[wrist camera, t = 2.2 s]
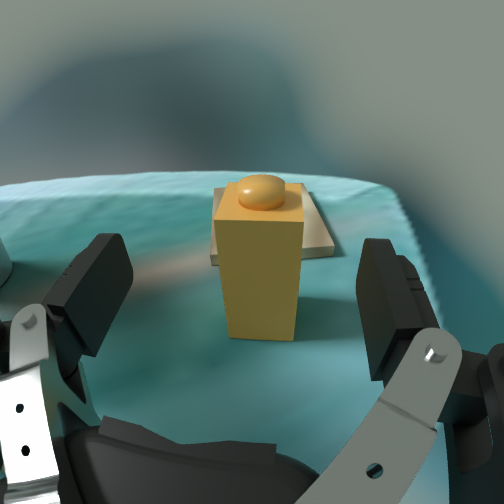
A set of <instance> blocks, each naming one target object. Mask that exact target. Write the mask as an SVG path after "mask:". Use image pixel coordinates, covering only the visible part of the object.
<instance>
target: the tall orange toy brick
mask: <svg viewBox="0 0 504 504" xmlns="http://www.w3.org/2000/svg"><path fill="white" fill-rule="evenodd" d="M214 229H215V237H216V245H217V253H218V260H219V268H220V276H221V283H222V290H223V298H224V305H225V312H226V319H227V325H228V332H229V338H239V339H255V340H275V341H293V339H294V330H295V321H296V312H297V302H298V291H299V280H300V269H301V257H302V244H303V231H304V215H303V203H302V192H301V184H293V183H285V182H284V181H283V180H282V179H281V178H279V177H276V176H272V175H252V176H248V177H245V178H243V179H241V180H240V181H239V182H238V183H228V184H227V187H226V189H225V192H224V194H223V197H222V199H221V202H220V204H219V207H218V209H217V212H216V215H215V217H214Z"/></svg>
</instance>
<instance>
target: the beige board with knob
mask: <svg viewBox="0 0 504 504" xmlns="http://www.w3.org/2000/svg"><path fill="white" fill-rule="evenodd" d="M293 184H301V192H302V203H303V215H304V231H303V244H302V257H301V259H303V258H316V257H328V256H333V254H334V248H335V245H334V243H333V241H332V239H331V237H330V235H329V233H328V231H327V229H326V227H325V225H324V223H323V221H322V219H321V217H320V215H319V213H318V211H317V209H316V207H315V205H314V203H313V201H312V199H311V197H310V195H309V193H308V191H307V190H306V188H305V186H304V184H303V183H293ZM225 189H226V187H224V188H214V200H213V215H212V231H211V248H210V257H211V264H212V265H219V260H218V253H217V245H216V237H215V229H214V217H215V215H216V212H217V209H218V207H219V204H220V202H221V199H222V197H223V194H224V192H225Z"/></svg>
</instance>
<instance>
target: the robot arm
mask: <svg viewBox="0 0 504 504" xmlns="http://www.w3.org/2000/svg"><path fill="white" fill-rule="evenodd" d="M12 267H13V264H12V261H11V259H10V257H9V255H8V253H7V251H6V249H5V247H4V245H3V243H2V241H1V239H0V287H1V286H2V285H3V283H4V282H5V281H6V280H7V278H8V277H9V275H10V273H11V271H12ZM132 282H133V268H132V265H131V262H130V259H129V256H128V253H127V250H126V247H125V244H124V241H123V238H122V236H121V235H120V234H118V233H100V234H98V235H97V236H96V237H95V238H94V240H93V241H92V242H91V243H90V245H89V246H88V247H87V248H86V249H84V250H83V251H82V252H81V253H79V254H78V255H77V256H76V257H75V258H74V259H73V261H72V262H71V263H70V265H69V268H67V269H66V270H65V271H64V273H63V276H61V277H60V278H59V279H58V281H57V282H56V283H55V285H54V286H53V288H52V289H51V290H50V292H49V293H48V295H47V296H46V297H45V299H44V300H43V302H42V303H41V304H31V305H28V306H26V307H24V308H23V309H21V310H20V311H19V312H18V313H17V314H16V315H15V317H14V319H13V320H12V321H5V322H2V321H1V320H0V504H398V503H399V502H400V500H401V499H402V497H403V495H404V494H405V492H406V491H407V489H408V488H409V486H410V485H411V483H412V481H413V480H414V478H415V476H416V474H417V473H418V471H419V469H420V468H421V466H422V464H423V462H424V461H425V459H426V457H427V455H428V453H429V451H430V449H431V447H432V445H433V443H434V441H435V439H436V436H437V430H436V429H434V427H435V424H436V422H442V423H444V431H445V439H446V449H447V460H448V474H449V501H450V502H449V504H504V344H502V343H501V344H497V345H495V346H494V347H493V348H492V349H491V350H490V351H489V353H488V354H487V355H484V354H479V353H474V352H469V351H465V350H462V349H461V347H460V345H459V343H458V341H457V340H456V339H455V338H454V337H453V336H452V335H451V334H450V333H448V332H446V331H445V330H442V329H440V327H439V324H438V322H437V319H436V316H435V314H434V311H433V309H432V306H431V304H430V301H429V299H428V296H427V294H426V291H424V287H423V284H422V282H421V281H420V277H419V275H418V273H417V271H416V268H415V266H414V265H413V264H412V263H411V262H410V261H409V260H408V259H407V258H406V257H405V256H403V255H396V253H395V250H394V248H393V246H392V243H391V241H390V240H389V239H374V238H366V239H365V241H364V244H363V249H362V254H361V259H360V263H359V268H358V273H357V278H356V296H357V301H358V306H359V311H360V317H361V322H362V327H363V333H364V339H365V345H366V351H367V357H368V363H369V370H370V377H371V381H382V380H383V385H384V391H383V392H382V394H381V395H380V397H379V398H378V400H377V401H376V403H375V404H374V406H373V407H372V409H371V410H370V412H369V413H368V415H367V416H366V418H365V419H364V420H363V422H362V423H361V425H360V426H359V427H358V429H357V430H356V432H355V433H354V434H353V436H352V437H351V438H350V440H349V441H348V442H347V443H346V445H345V446H344V447H343V449H342V450H341V451H340V452H339V454H338V455H337V456H336V457H335V459H334V460H333V461H332V462H331V464H330V465H329V466H328V467H327V468H326V469H325V471H324V472H323V473H322V474H321V475H319V474H318V473H317V472H316V471H314V470H313V469H311V468H310V467H308V466H307V465H305V464H303V463H302V462H300V461H298V460H296V459H293V458H291V457H288V456H285V455H282V454H278V453H276V445H277V444H266V443H251V442H239V441H221V442H211V443H200V444H185V445H183V444H177V443H175V442H173V441H170V440H168V439H166V438H164V437H162V436H160V435H158V434H156V433H154V432H152V431H150V430H148V429H146V428H144V427H142V426H140V425H137V424H133V423H129V422H125V421H121V420H118V419H114V418H111V417H107V416H103V419H102V422H101V420H100V419H99V417H98V416H97V414H96V412H95V410H94V407H93V404H92V400H91V396H90V392H89V389H88V385H87V381H86V376H85V372H84V368H83V364H82V362H81V361H80V358H81V356H82V354H83V355H87V356H92V357H96V355H97V352H98V350H99V348H100V346H101V344H102V342H103V340H104V338H105V336H106V334H107V332H108V330H109V328H110V326H111V324H112V322H113V320H114V318H115V316H116V314H117V312H118V310H119V308H120V306H121V304H122V302H123V300H124V298H125V297H126V295H127V293H128V291H129V289H130V287H131V285H132ZM487 416H488V417H487ZM488 418H489V422H488ZM489 424H490V427H489ZM490 429H491V433H490ZM491 435H492V439H491ZM492 440H493V446H492ZM3 463H4V467H5V472H6V474H5V473H4V472H2V471H1V470H2V466H3Z"/></svg>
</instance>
